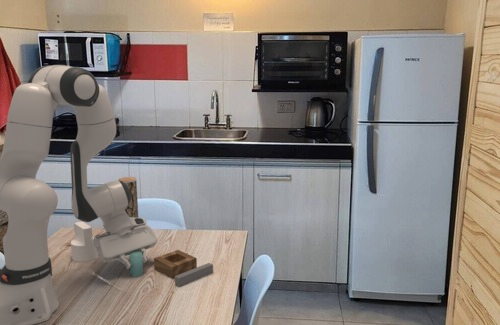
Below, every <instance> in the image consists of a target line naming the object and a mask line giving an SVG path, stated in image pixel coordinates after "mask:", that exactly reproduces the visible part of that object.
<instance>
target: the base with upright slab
mask: <svg viewBox="0 0 500 325" xmlns="http://www.w3.org/2000/svg"><path fill="white" fill-rule="evenodd" d="M73 227H74V239H72V240H71V241H70V247H71V248H70V249H71V259H72V261H74V262H77V263H79V262H80V263H81V262H82V263H84V262H90V261H93V260H95V259H98V257H99V255H98V252H97V248H96V247H95V245H94V243H93V239H94V238H95V236H93V227H92V226H91V225H89V224H87V222H84V221H76V222H74V223H73ZM95 239H96V238H95Z"/></svg>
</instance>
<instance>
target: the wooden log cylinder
mask: <svg viewBox="0 0 500 325" xmlns="http://www.w3.org/2000/svg"><path fill="white" fill-rule="evenodd" d="M117 180H120V181H122V182H124V183H125V184H127V186H128V188H129V190H130V192H131V195H132V200H131V202H130V204H129V205H128V207H127V208H126V209H125V212H126V213H127V214H128V215H129V217H134V218H139V205H138V204H139V203H138V202H139V201H138V185H137V184H138V182H137V177H134V176H127V177H125V176H124V177H119V178H117Z"/></svg>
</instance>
